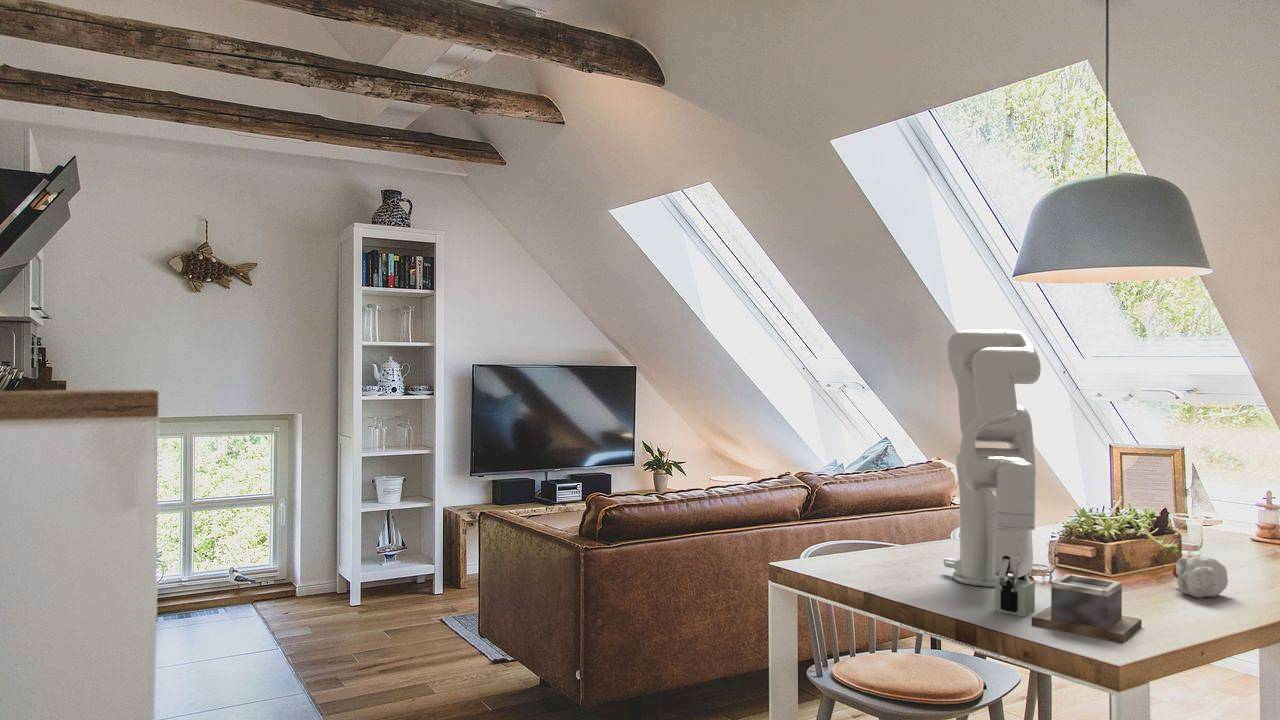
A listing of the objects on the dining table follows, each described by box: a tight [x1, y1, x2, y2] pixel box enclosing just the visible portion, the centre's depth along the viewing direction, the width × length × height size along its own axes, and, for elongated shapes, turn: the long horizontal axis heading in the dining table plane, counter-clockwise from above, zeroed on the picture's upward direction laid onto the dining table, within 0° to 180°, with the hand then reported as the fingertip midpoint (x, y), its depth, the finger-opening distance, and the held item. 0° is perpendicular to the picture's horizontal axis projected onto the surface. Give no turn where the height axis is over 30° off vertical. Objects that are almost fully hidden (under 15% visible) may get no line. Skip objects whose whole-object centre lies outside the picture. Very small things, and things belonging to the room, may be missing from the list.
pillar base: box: [1031, 573, 1142, 644], centre depth 168 cm, size 16×14×8 cm
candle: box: [1172, 555, 1229, 599], centre depth 195 cm, size 9×11×15 cm
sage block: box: [994, 579, 1036, 618], centre depth 178 cm, size 6×6×6 cm
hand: (1014, 606), depth 178 cm, fingers closed on sage block, 6 cm apart
